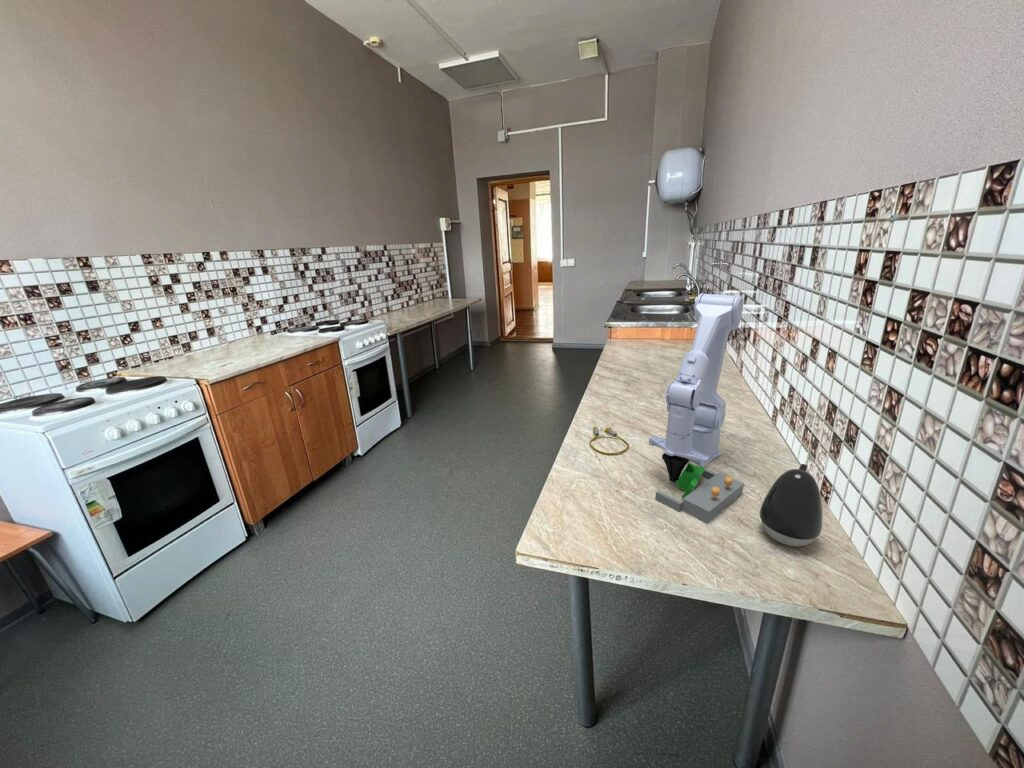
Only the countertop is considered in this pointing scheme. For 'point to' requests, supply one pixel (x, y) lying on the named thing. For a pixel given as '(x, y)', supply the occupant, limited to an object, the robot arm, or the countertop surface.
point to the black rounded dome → (793, 508)
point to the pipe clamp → (689, 478)
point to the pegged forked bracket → (706, 496)
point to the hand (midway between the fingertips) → (674, 480)
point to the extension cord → (610, 432)
